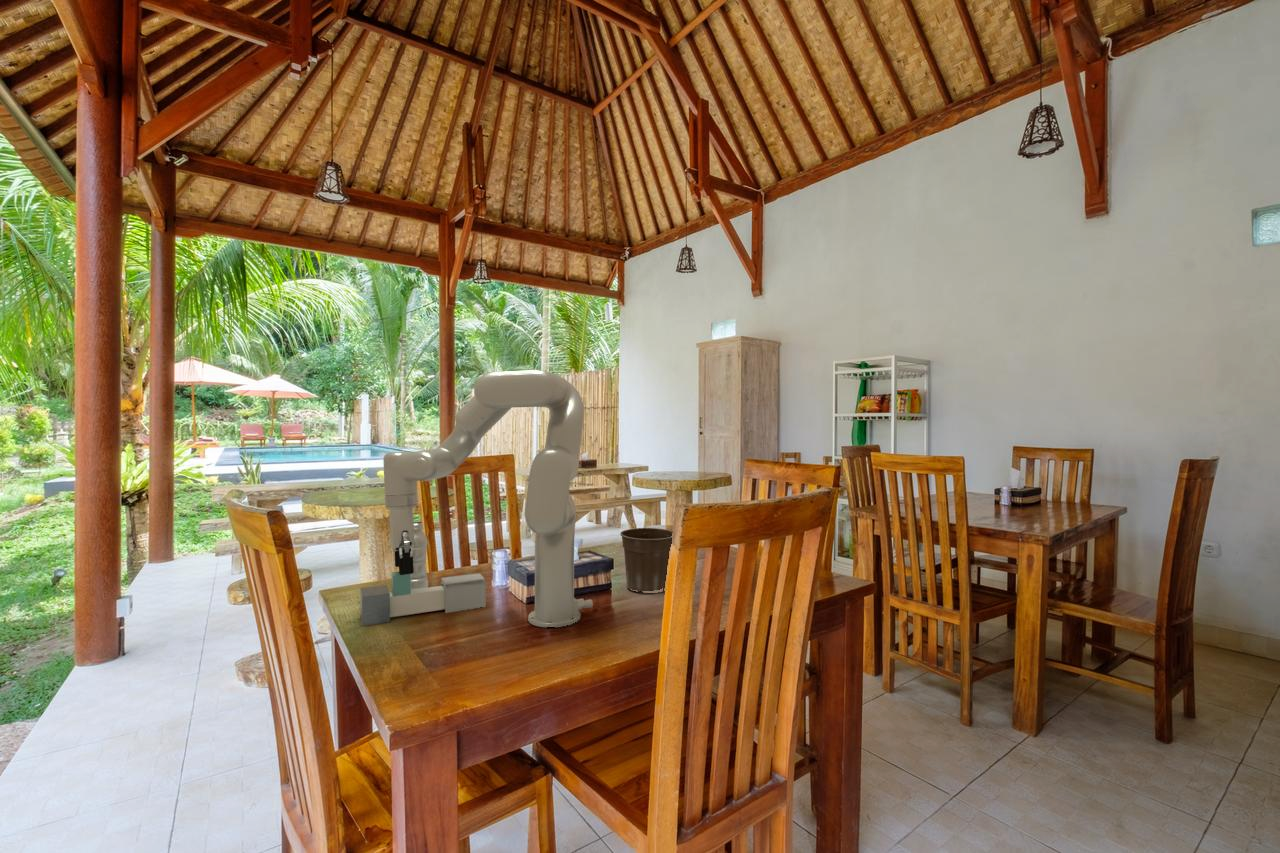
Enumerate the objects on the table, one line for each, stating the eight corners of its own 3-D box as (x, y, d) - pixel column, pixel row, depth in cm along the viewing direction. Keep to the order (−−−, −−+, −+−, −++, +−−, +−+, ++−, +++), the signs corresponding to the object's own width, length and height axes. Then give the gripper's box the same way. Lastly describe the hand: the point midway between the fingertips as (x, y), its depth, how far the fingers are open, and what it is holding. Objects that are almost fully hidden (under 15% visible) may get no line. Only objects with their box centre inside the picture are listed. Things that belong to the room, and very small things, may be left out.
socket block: (386, 612, 145) (386, 584, 144) (389, 622, 138) (389, 593, 137) (360, 616, 142) (360, 588, 142) (362, 626, 135) (362, 596, 135)
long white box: (449, 603, 150) (449, 565, 150) (452, 608, 146) (452, 569, 146) (367, 615, 141) (367, 575, 141) (368, 620, 137) (368, 578, 137)
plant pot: (687, 591, 163) (687, 534, 163) (639, 600, 155) (639, 540, 154) (656, 577, 177) (656, 525, 177) (610, 585, 168) (610, 531, 168)
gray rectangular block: (479, 599, 155) (479, 573, 155) (485, 607, 149) (485, 579, 149) (440, 605, 150) (440, 577, 150) (445, 613, 144) (445, 584, 144)
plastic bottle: (432, 590, 163) (432, 520, 163) (421, 598, 156) (421, 525, 156) (411, 590, 164) (410, 520, 164) (398, 597, 157) (398, 524, 157)
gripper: (382, 499, 148) (384, 565, 148) (388, 506, 133) (391, 580, 133) (413, 496, 152) (415, 561, 152) (422, 503, 136) (425, 575, 136)
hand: (404, 569), depth 142 cm, fingers open, 9 cm apart
